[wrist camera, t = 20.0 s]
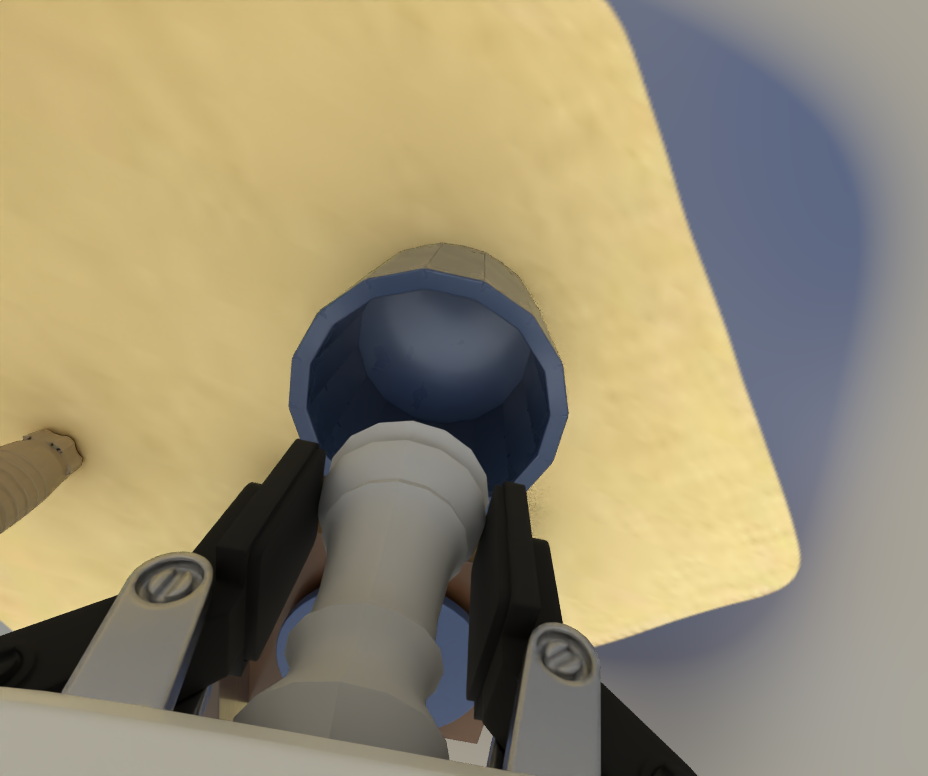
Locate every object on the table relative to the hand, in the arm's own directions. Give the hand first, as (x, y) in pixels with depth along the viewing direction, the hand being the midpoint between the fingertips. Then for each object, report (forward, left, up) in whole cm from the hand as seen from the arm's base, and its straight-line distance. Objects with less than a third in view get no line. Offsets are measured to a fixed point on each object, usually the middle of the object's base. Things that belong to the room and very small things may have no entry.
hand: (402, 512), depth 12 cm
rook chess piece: (0, 0, -2) cm, 2 cm away
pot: (0, 0, -15) cm, 15 cm away
